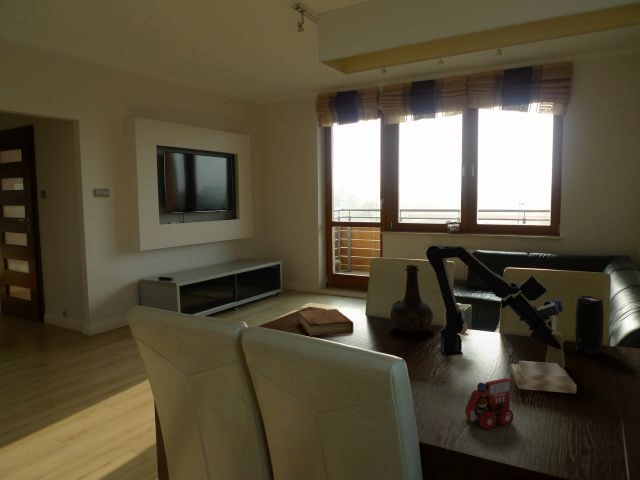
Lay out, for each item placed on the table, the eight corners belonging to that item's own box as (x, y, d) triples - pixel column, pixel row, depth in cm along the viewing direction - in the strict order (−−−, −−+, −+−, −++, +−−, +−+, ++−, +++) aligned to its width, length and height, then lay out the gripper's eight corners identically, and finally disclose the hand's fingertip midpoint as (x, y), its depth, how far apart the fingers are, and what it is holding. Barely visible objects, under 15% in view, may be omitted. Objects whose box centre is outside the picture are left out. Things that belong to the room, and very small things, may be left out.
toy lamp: (558, 341, 175) (559, 298, 174) (564, 345, 170) (565, 301, 169) (545, 341, 175) (546, 298, 174) (550, 344, 171) (551, 301, 169)
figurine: (471, 335, 185) (471, 306, 184) (456, 335, 184) (456, 306, 183) (463, 329, 193) (463, 301, 192) (449, 330, 192) (449, 302, 192)
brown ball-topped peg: (563, 363, 151) (564, 330, 150) (567, 369, 146) (567, 335, 145) (543, 361, 153) (544, 329, 152) (546, 367, 148) (546, 334, 147)
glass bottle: (401, 322, 206) (401, 261, 204) (439, 328, 196) (439, 263, 194) (382, 331, 192) (382, 266, 190) (422, 338, 181) (423, 269, 179)
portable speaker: (582, 355, 159) (584, 300, 157) (569, 347, 168) (571, 294, 166) (608, 355, 158) (609, 300, 156) (594, 347, 167) (595, 294, 166)
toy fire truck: (458, 420, 113) (458, 379, 112) (499, 411, 117) (499, 372, 116) (476, 433, 106) (477, 389, 106) (519, 424, 110) (519, 382, 110)
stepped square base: (518, 388, 131) (518, 375, 131) (510, 370, 146) (511, 358, 145) (576, 393, 127) (576, 379, 127) (562, 374, 142) (562, 361, 141)
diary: (353, 334, 191) (353, 320, 191) (310, 338, 187) (310, 324, 186) (338, 320, 213) (337, 308, 213) (299, 323, 209) (298, 311, 208)
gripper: (543, 299, 141) (583, 338, 137) (543, 289, 158) (579, 323, 154) (515, 322, 145) (553, 360, 141) (518, 309, 162) (552, 343, 158)
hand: (560, 346), depth 148 cm, fingers closed on brown ball-topped peg, 5 cm apart
